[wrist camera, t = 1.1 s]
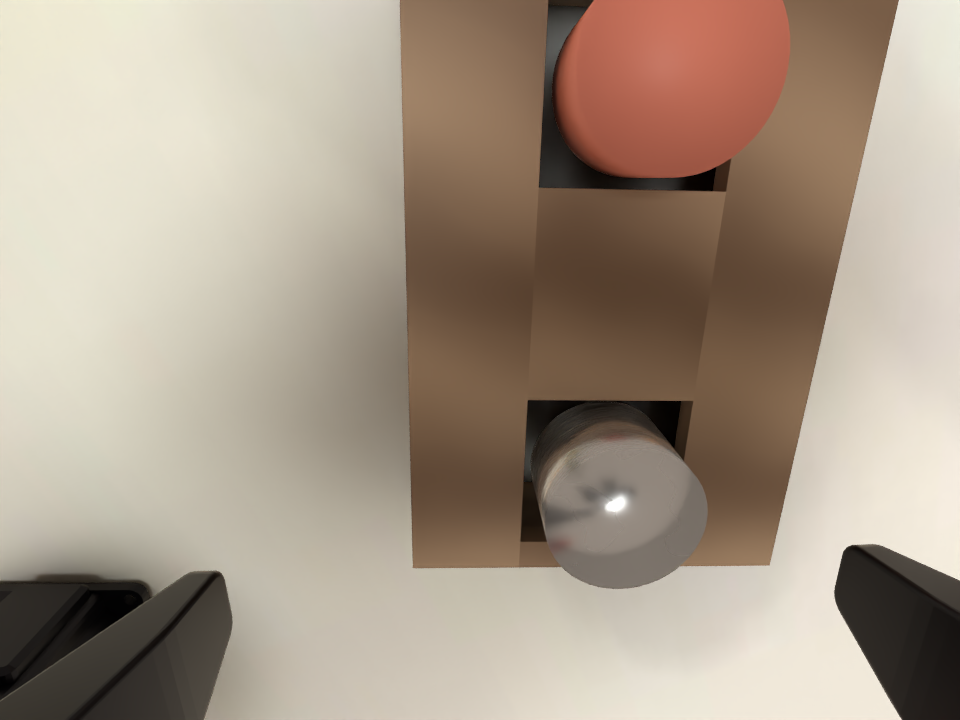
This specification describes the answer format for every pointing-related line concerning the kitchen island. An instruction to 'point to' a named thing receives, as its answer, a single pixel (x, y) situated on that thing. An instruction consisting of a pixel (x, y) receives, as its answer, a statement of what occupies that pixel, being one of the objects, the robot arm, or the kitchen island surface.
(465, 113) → the press box
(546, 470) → the grey plunger
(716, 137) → the pink round plug
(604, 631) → the kitchen island surface
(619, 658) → the kitchen island surface
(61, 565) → the kitchen island surface
